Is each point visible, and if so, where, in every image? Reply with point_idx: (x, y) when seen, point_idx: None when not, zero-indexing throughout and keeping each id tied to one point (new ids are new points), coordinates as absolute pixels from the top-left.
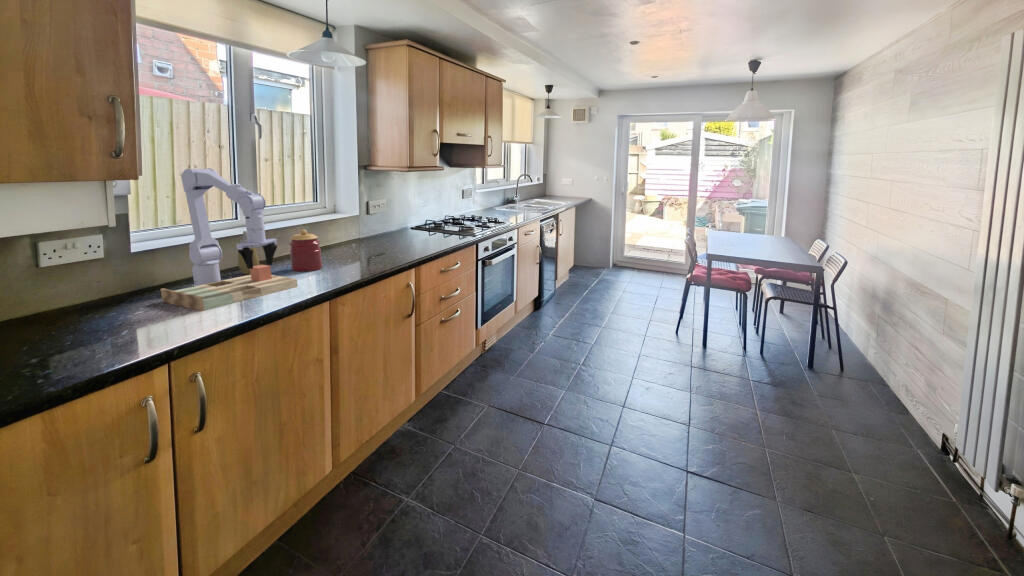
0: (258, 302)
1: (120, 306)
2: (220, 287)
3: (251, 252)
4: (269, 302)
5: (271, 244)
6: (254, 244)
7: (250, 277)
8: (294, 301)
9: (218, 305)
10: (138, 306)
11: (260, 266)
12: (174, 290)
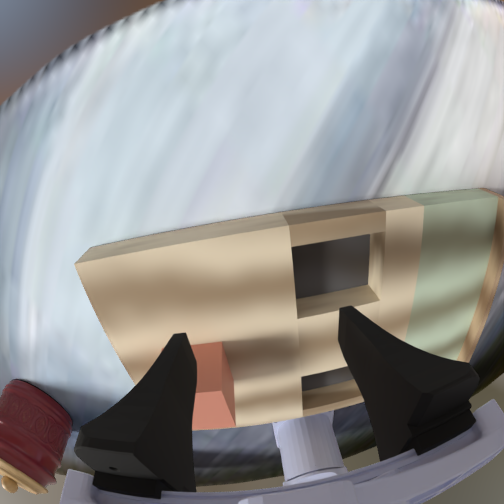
0: (350, 113)
1: (479, 356)
2: None
3: (427, 377)
4: (320, 72)
5: (124, 484)
6: (411, 475)
7: None
8: (236, 2)
9: (450, 192)
10: None
11: (194, 412)
12: None
